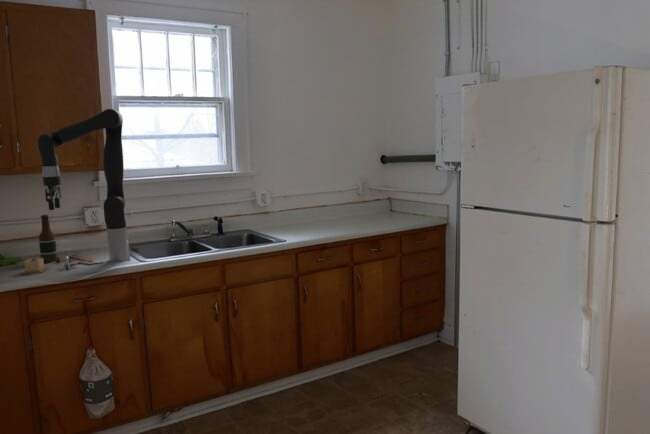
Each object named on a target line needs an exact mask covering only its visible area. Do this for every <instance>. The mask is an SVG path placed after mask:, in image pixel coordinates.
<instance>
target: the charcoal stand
mask: <svg viewBox="0 0 650 434" xmlns="http://www.w3.org/2000/svg"><path fill="white" fill-rule="evenodd" d="M64 265H65V267H61V268H58V269H56V271H65V272H67V271H72V270H75V269H78V268H79V267H78V266H70V262H69V257H68V256H65V257H64Z"/></svg>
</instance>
